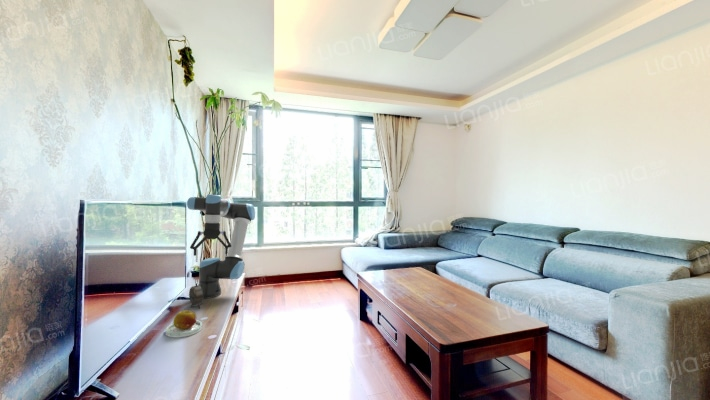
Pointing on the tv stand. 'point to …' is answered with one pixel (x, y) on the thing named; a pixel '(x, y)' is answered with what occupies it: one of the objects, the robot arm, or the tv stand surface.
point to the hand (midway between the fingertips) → (210, 260)
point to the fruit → (184, 319)
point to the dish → (183, 330)
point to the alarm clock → (196, 295)
